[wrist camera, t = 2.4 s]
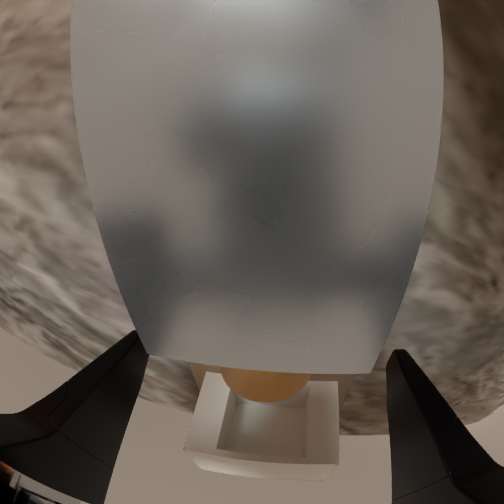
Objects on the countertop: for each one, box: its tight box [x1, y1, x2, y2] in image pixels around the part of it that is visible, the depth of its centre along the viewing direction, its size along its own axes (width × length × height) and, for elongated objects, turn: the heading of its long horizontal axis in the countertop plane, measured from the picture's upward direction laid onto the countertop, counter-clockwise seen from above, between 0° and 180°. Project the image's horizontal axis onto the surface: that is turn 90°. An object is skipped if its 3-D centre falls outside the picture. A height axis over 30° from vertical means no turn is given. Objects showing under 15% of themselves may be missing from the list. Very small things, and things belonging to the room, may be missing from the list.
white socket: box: [183, 372, 339, 480], centre depth 15 cm, size 8×5×5 cm, turn 92°
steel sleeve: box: [70, 0, 444, 374], centre depth 6 cm, size 6×9×5 cm, turn 2°
